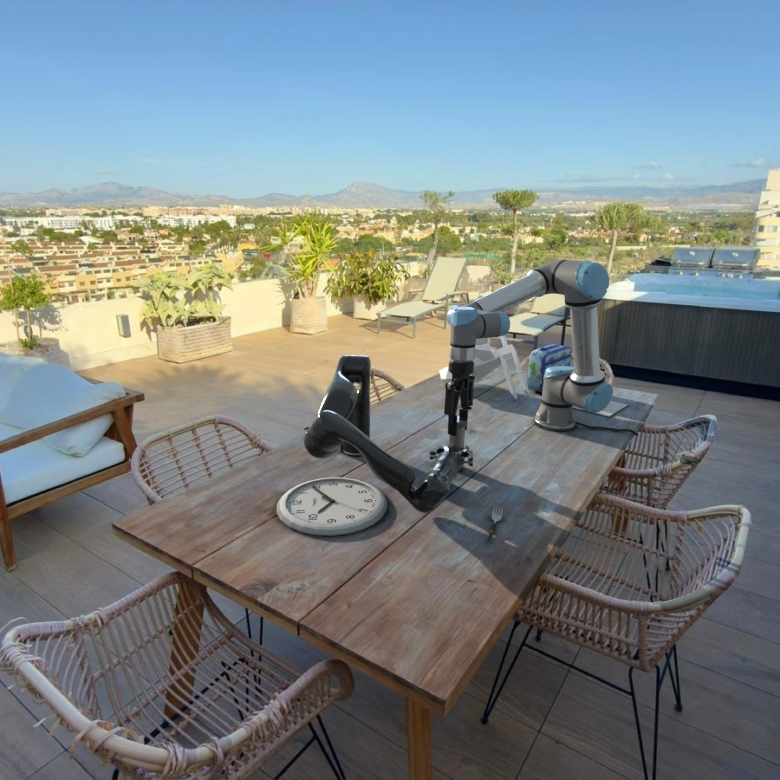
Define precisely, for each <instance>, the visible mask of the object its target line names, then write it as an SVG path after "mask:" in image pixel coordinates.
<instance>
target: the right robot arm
mask: <svg viewBox="0 0 780 780" xmlns="http://www.w3.org/2000/svg"><path fill="white" fill-rule="evenodd" d="M609 287H610V275H609V272H608V270H607V268H606V267H605V266H604V265H603V264H601V263H600V262H594V261H591V260H574V259H556V260H553V261H551V262H547V263H545V264H542V265H540V266H538V267H535V268H533V269H531V270H529V271H528V272H527V273H526V275H525V276H523V277H521V278H519V279H517V280H515V281H513V282H511V283H509V284H507V285H505V286H502V287H501V288H498V289H497V290H494V291H492V292H490V293H488V294H486V295H484V296H482V297H479V298H478V299H476V300H474V301H471V302H469V303H467V304H465V305H463V304H454V305H452V306H451V307H450V308H449V309H448V311H447V314H446V321H447V323H448V325H449V326H450V336H449V355H448V356H449V357H448V358H449V360H448V366H449V372H450V373H451V374H452V378H451V382H450V383H446V384H444V388H445V396H444V409H443V414H444V415H446V416H447V418H448V419H447V435H449V436H450V435H453V436H456V434H457V417H458V416H462V417H465V418H467V421H468V418H469V411H471V410H472V409H473V407H472V406H473V404H474V386H475V385H474V384H475V383H474V379H475V376H472V375H470V374H472V373H473V372H474V361H473V360H474V359H475V346H476V343H477V340H479V339H488V338H489V339H491V338H500V336H504V335H505V336H506V335H507V334H508V333H509V331H510V329H511V319H510V317H509V315H508V314H507V313H506V312H507V311H509V310H510V309H512V308H514V307H517V306H518V305H521V304H523V303H524V302H526V301H529V300H532V299H533V298H535V297H536V298H541V297H543V296H545V295H546V296H547V295H549V294H550V295H562V296H564V305H565V306H566V307H568V308H569V311H570V313H569V315H570V329H571V330H570V331H571V344H572V358H573V359H572V361H573V366H570V367H569V366H555V367H549V368H547V369H546V370H545V374H544V379H543V390H542V393H541V402H540V405H539V407H538V410H537V411H536V413H535V416H534V424H535V425H536V426H537V427H539V428H542V429H544V430H549V431H556V432H567V431H572V430H574V429H575V428H576V425H577V426H581V427H584V428H586V429H591V430H606V431H612V432H619V433H620V432H625V433H631V434H633V435H634V436H637V437H639V433H638V432H637V431H635V430H633V429H630V428H614V427H609V426H592V425H589V424H586V423H583V422H579V421H576V418H575V417H576V416H575V413H574V407H578V408H581V409H583V410H582V411H584V410H585V411H584V412H588V411H589V412H588V413H593V414H596V413H598V412H600V411H602V410H603V409H604V408H605V407H606V406H607V405H608V403H609V402H610V401H612V398H613V395H614V389H613V385H611V384H610V383H609V382H606V374H605V372H604V371H603V370H602V369H601V366H600V365H601V364H600V363H601V362H600V343H599V340H600V339H599V317H598V305H600V304H601V302H602V301H603V298H604V297H605V295H606V294H607V293H608V290H607V289H609ZM459 402H460V408H459V407H458V406H459ZM458 408H459V411H458ZM457 411H458V415H457ZM468 422H469V421H468ZM467 430H468V425H467V426H465V431H467Z"/></svg>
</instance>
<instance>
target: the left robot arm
mask: <svg viewBox="0 0 780 780" xmlns="http://www.w3.org/2000/svg"><path fill="white" fill-rule="evenodd" d="M371 377H372V361H371V358H370V356H368V355H360V354H359V355H358V354H343V355H342V356H341V357H339V359H338V361H337V364H336V367H335V370H334V373H333V377H332V379H331V381H330V383H329V385H328V387H327V389H326V391H325V393H324V395H323V398H322V400H321V403H320V406H319V408H318V411H317V415H316V417H315V418H314V420H313V421H312V422H311V423H310V425H309V426H306V427H304V428H303V431H305V432H304V436H303V444H304V447H305V450H306V451H307V453H308V454H309V455H310V456H311V457H313V458H316V459H319V460H325V459H329V458H330V457H333V456H334V454H336V453H337V451H338V450H339V452H340V453H343V454H345V455H347V456H352V457H360V456H361V457H362V458H363V459H364V461H365V463H366V465H367V467H368V468H369V470H370V472H371V473H372V475H373V476H374V477H375V478H377V480H378V481H380V482H382V483H383V484H385V485H387V486H389V487H390V488H392V489H394V490H395V491H396V492H398V493H399V495H401V496H402V497H403V498H404V499H405V500H406V501H407V502H408V503H409V504H410V505H411V506H412V507H413V508H414V509H415V510H416V511H417V512H419V513H423V514H429V513H431V512H433V511H434V510H435V509H436V508H437V507H438V506H439V504H441V502H442V501H443V500H445V498H446V497H447V496H448V494H449V493H450V489H451V484H452V482H453V481H454V480H455V478H456V477H457V475H458V472H460V470H459V469H460V467H461V466H462V465H463V466H464V464H467V465H468V466H469V467H473V466H474V452H473V450H470V446H468V445H467V444H464V448H463V450H459V451H457V452H451V451H449V442H448V443H446V444H445V445H444V446H443V447H442V445H438V446H436V447H434V448H432V449H431V450H429V460H434V461H433V462H432V463H431V466H430V468H429V470H428V471H427V473H426V475H425V478H424V480H422V482H421V483H419V485H418V486H417V487H416V486H414V483H415V480H416V477H417V471H416V469H414V468H413V467H411V466H410V465H408V464H406V463H405V462H404V461H401V460H400V459H398V458H397V457H395V456H394V455H392V454H391V453H389V452H388V451H386V450H384V448H382V447H381V446H379V445H378V444H377V443H376V442H375V441H373V440H372V439H371ZM355 384H356V385H359V386H358V387H356V386H355Z"/></svg>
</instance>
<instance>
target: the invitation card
mask: <svg viewBox="0 0 780 780" xmlns="http://www.w3.org/2000/svg"><path fill="white" fill-rule="evenodd" d="M628 406H629V404H627V403H623V402H618V401H614V400H610V402H609V403H608V405H607V406H606V407H605V408H604V409H603V410H602V411H600V412H598V413H595V414H596V415H600V416H604V417H608V418H609V417H611V416H613V415H614V414H616V413H617V412H619V411H621V410H623V409H624V408H626V407H628ZM573 409H575V410H581V411H584V412H586V411H585V410H583V409H581V408H578V407H575V406H573ZM587 413H590V412H589V411H587Z"/></svg>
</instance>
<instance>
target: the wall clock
mask: <svg viewBox="0 0 780 780" xmlns="http://www.w3.org/2000/svg"><path fill="white" fill-rule="evenodd" d="M387 509H388V500H387V498H386V496H385V494H384V493H383V492H382V491H381V490H380V489H379V488H377V487H376V486H374V485H372V484H371V483H369V482H365V481H362V480H359V479H355V478H349V477H338V476H337V477H335V476H333V477H332V476H331V477H322V478H317V479H312V480H307V481H305V482H302V483H299V484H297V485H295V486H293V487H292V488H290V489H288V490H287V491H286V492H285V493H284V494H283V495H281V496H280V498H279V499H278V502H277V503H276V515H277V517H278V518H279V520H280V521H281V522H282V523H283V524H285V525H286V526H287V527H288V528H290V529H293V530H295V531H297V532H299V533H303V534H308V535H312V536H327V537H328V536H329V537H331V536H332V537H333V536H342V535H350V534H352V533H356V532H361V531H363V530H366V529H368V528H369V527H372V526H373V525H375V524H376V523H378V522H379V521H380V520H381V519H382V518H383V517H384V516H385V514H386V512H387Z"/></svg>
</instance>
